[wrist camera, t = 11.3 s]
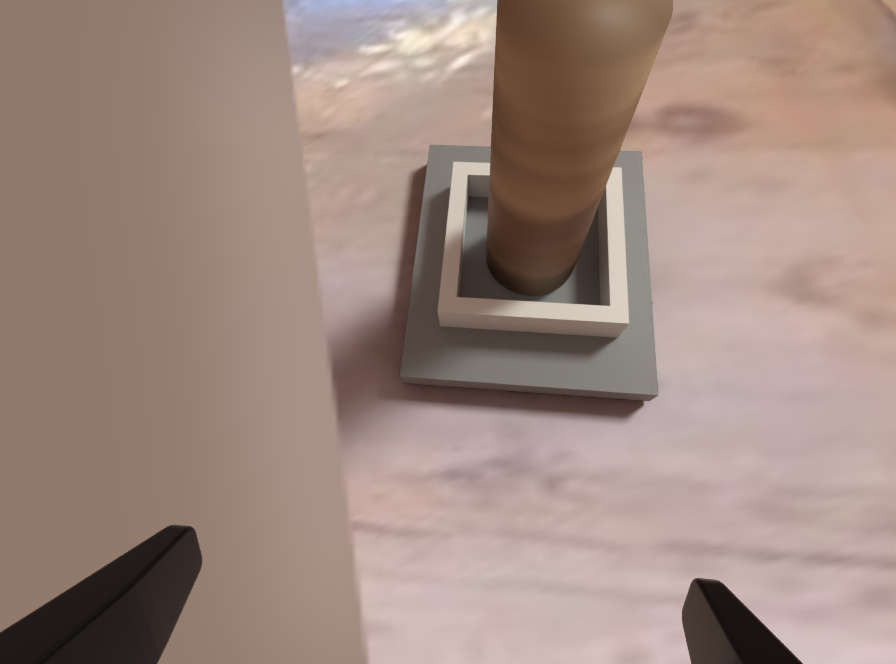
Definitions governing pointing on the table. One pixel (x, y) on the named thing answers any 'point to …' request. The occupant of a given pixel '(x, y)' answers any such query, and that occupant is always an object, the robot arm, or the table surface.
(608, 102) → the walnut post
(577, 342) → the grey framed base plate
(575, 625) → the table surface
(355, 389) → the table surface
